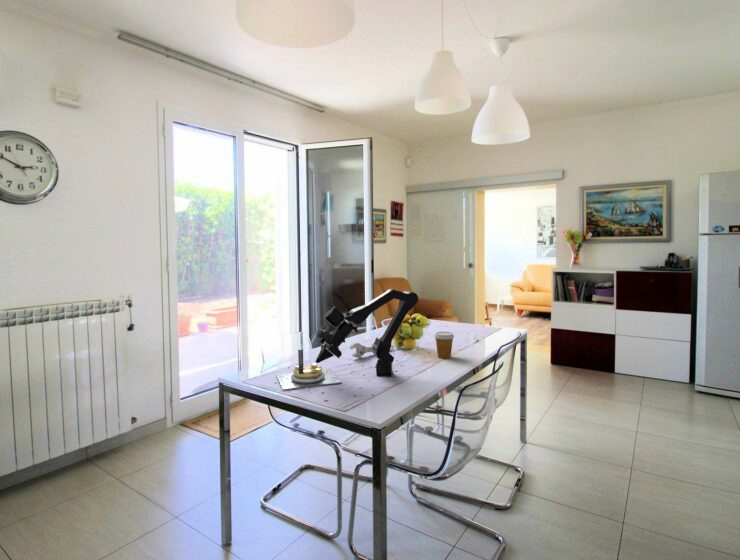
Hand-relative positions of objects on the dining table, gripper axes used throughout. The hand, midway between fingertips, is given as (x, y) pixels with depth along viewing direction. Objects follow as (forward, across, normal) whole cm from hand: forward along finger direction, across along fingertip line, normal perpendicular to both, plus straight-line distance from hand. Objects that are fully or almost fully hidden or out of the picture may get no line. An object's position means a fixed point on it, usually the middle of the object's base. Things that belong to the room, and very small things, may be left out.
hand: (316, 362), depth 178 cm
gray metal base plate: (+8, -4, +4) cm, 10 cm away
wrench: (-19, -32, +32) cm, 49 cm away
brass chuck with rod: (+6, -4, +2) cm, 8 cm away
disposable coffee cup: (-41, -14, +54) cm, 70 cm away
